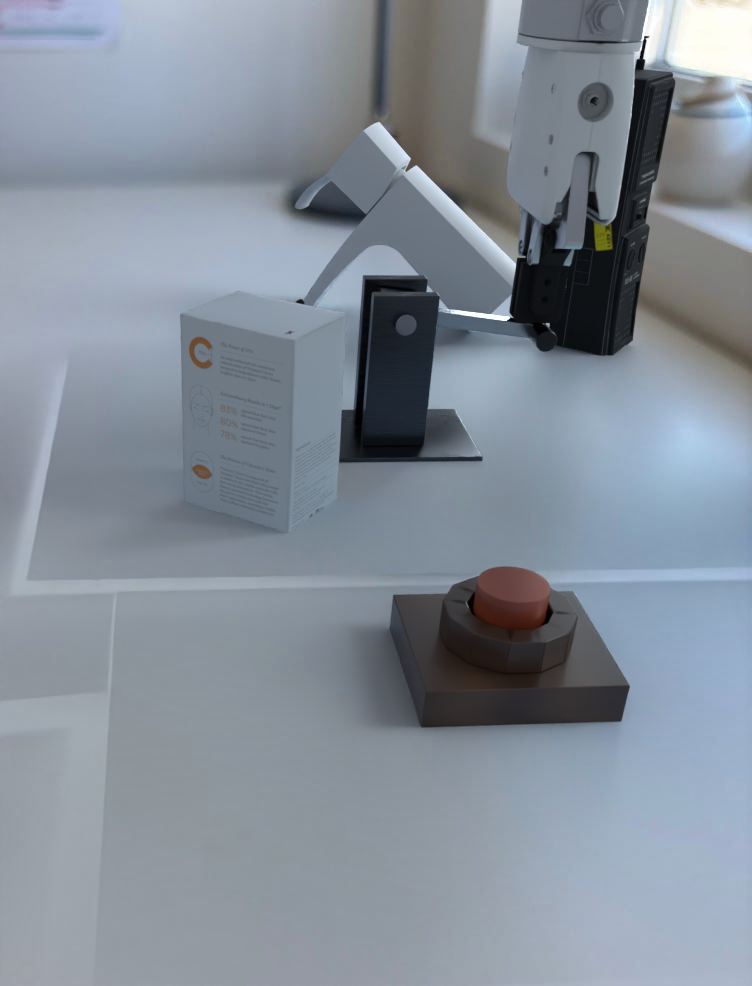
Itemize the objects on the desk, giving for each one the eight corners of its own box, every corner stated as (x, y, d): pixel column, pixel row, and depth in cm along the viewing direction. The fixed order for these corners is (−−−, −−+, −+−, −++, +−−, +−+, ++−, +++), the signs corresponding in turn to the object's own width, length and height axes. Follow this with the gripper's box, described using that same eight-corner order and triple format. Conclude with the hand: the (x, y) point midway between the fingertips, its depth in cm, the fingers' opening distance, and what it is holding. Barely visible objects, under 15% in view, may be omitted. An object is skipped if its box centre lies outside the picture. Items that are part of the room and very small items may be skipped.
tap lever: (531, 336, 82) (541, 303, 81) (551, 360, 78) (562, 325, 76) (369, 315, 80) (375, 281, 79) (380, 338, 76) (388, 302, 75)
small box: (338, 509, 74) (351, 311, 67) (286, 547, 70) (294, 339, 63) (236, 478, 78) (237, 287, 71) (180, 512, 73) (176, 312, 66)
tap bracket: (453, 423, 87) (472, 267, 81) (481, 472, 80) (504, 305, 73) (298, 424, 86) (305, 266, 80) (311, 474, 79) (320, 305, 72)
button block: (566, 624, 63) (579, 561, 61) (621, 722, 56) (638, 654, 53) (389, 628, 62) (395, 564, 60) (421, 728, 55) (429, 660, 52)
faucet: (517, 289, 101) (361, 121, 99) (394, 405, 111) (248, 255, 108) (529, 271, 106) (380, 111, 104) (410, 384, 116) (271, 240, 113)
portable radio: (604, 370, 98) (668, 46, 84) (539, 356, 101) (590, 40, 87) (633, 346, 104) (697, 39, 90) (571, 333, 106) (623, 33, 93)
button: (533, 594, 59) (539, 565, 58) (554, 632, 56) (560, 601, 55) (465, 596, 58) (469, 566, 57) (482, 634, 55) (486, 603, 54)
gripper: (690, 34, 63) (622, 356, 73) (602, 11, 75) (554, 288, 85) (558, 30, 62) (508, 355, 72) (491, 7, 74) (457, 287, 85)
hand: (533, 318), depth 79 cm, fingers closed
